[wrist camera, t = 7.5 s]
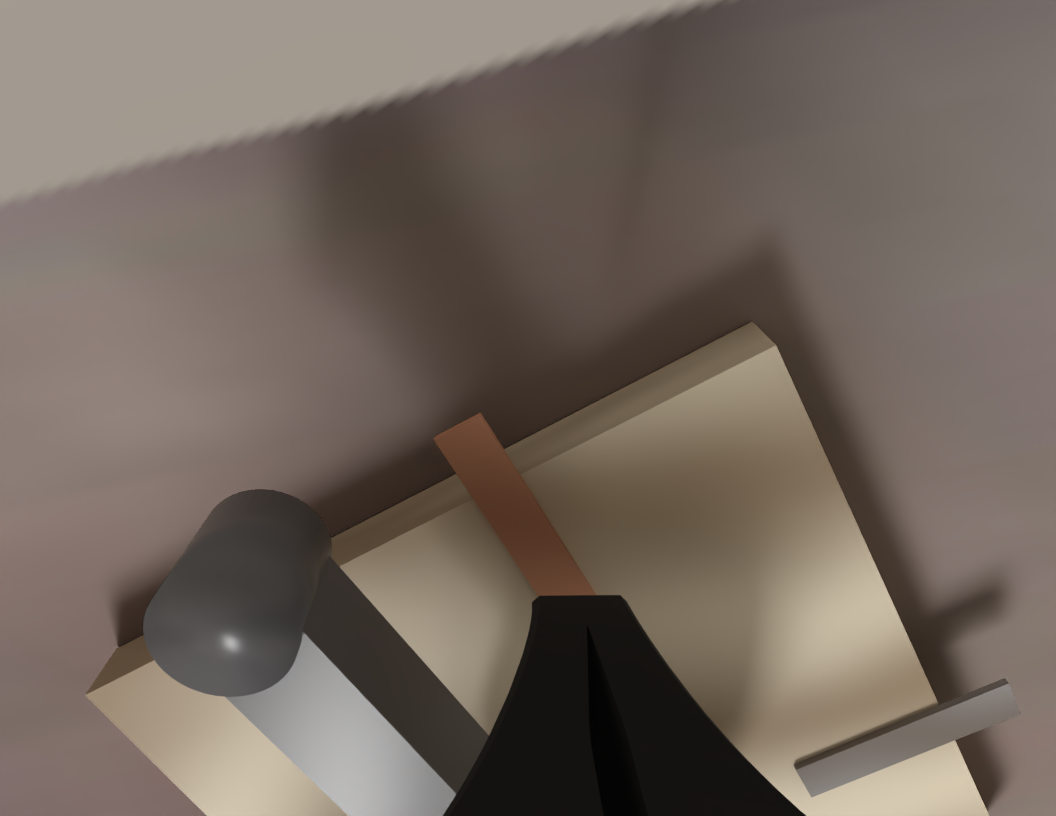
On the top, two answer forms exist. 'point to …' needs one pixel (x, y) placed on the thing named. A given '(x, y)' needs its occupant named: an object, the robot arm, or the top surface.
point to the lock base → (631, 597)
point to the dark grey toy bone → (310, 660)
